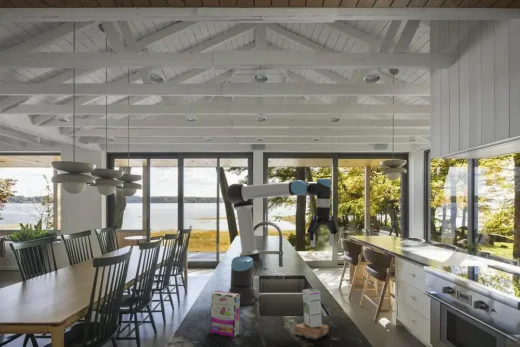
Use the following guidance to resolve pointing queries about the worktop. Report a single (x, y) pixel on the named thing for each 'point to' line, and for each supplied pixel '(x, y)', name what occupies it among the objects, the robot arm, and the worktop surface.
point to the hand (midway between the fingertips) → (322, 246)
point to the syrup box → (312, 308)
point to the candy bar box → (225, 313)
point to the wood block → (312, 330)
